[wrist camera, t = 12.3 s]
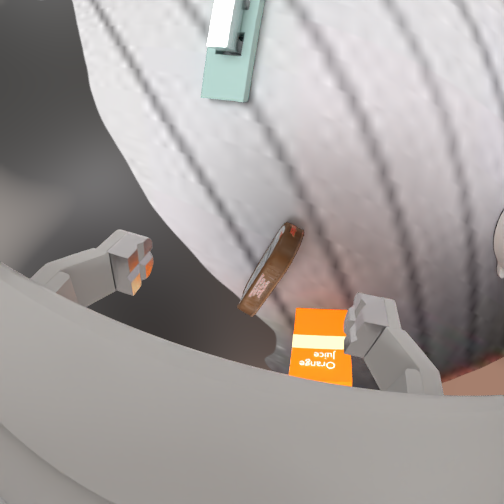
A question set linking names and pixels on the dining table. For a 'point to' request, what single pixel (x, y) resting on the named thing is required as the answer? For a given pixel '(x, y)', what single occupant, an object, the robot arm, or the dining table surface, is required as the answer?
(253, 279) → the tin
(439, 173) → the dining table surface
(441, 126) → the dining table surface
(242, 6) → the white block
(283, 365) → the dining table surface
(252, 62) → the rail
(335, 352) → the orange juice
